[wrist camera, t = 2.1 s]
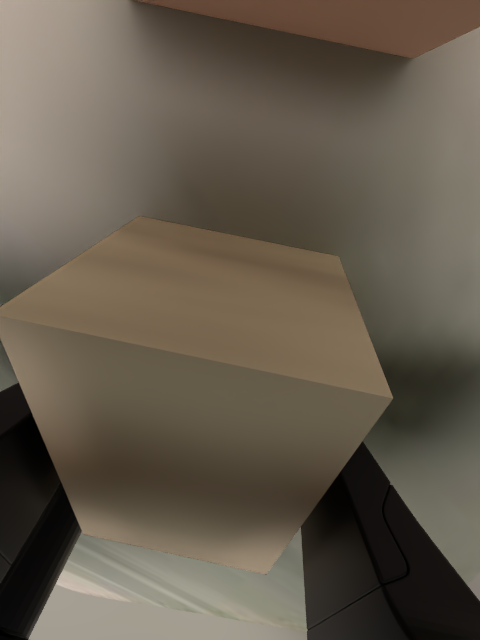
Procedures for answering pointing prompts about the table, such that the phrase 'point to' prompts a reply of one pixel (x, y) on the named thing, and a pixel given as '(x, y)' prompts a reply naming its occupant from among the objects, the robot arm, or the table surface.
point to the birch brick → (196, 387)
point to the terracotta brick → (350, 20)
